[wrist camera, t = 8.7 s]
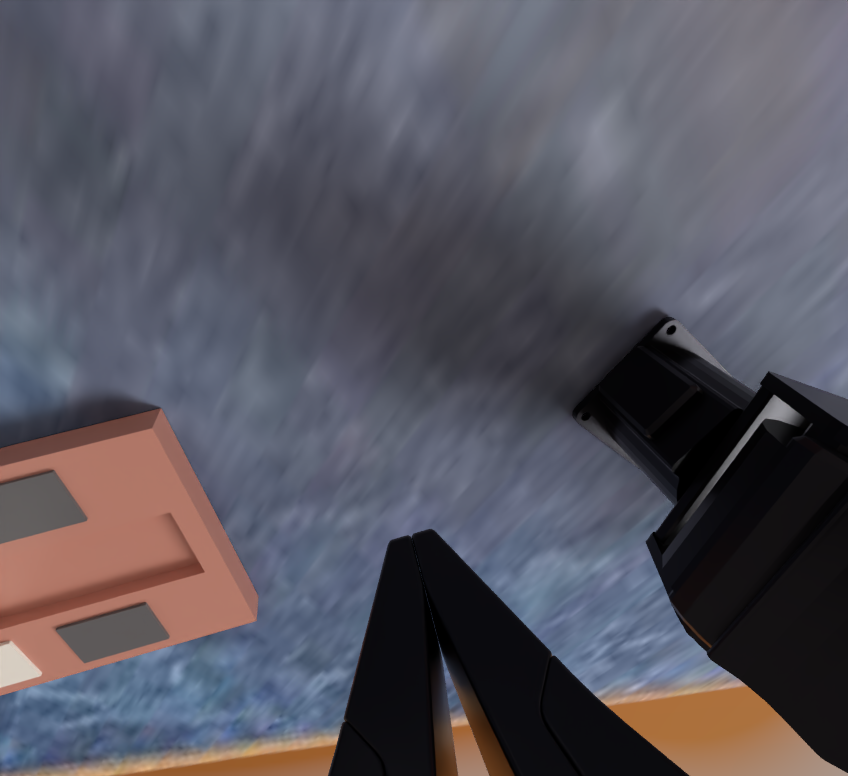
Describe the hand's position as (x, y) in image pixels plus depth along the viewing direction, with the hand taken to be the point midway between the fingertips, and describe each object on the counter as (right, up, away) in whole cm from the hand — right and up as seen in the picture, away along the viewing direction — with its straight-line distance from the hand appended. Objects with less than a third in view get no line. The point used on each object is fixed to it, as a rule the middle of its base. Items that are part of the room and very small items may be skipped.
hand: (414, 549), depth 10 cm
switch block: (-18, -5, +14) cm, 23 cm away
